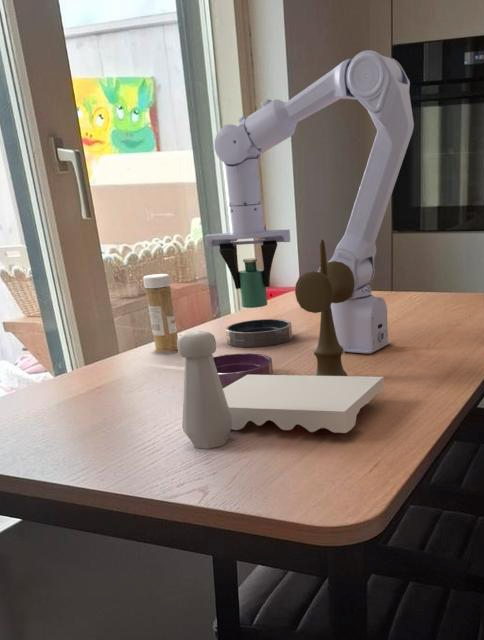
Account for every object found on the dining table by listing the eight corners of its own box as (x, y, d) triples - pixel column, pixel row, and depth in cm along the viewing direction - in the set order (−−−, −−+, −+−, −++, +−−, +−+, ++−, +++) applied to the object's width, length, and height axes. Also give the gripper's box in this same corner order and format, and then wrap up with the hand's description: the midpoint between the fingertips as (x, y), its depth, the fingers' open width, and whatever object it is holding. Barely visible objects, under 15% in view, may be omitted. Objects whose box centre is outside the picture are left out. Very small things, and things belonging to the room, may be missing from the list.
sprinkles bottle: (184, 350, 127) (173, 274, 122) (160, 355, 125) (148, 277, 120) (174, 346, 131) (163, 272, 125) (151, 351, 129) (139, 275, 123)
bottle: (272, 303, 126) (268, 257, 123) (257, 308, 123) (252, 260, 120) (251, 302, 129) (247, 257, 125) (236, 307, 125) (231, 260, 122)
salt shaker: (188, 436, 85) (172, 329, 80) (235, 432, 86) (222, 325, 80) (183, 453, 80) (165, 340, 75) (233, 449, 80) (219, 336, 75)
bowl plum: (288, 375, 108) (287, 356, 107) (242, 397, 99) (240, 377, 97) (226, 369, 114) (224, 350, 112) (177, 389, 104) (174, 370, 103)
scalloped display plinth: (196, 431, 87) (346, 439, 80) (192, 406, 86) (344, 411, 79) (250, 397, 100) (384, 401, 93) (247, 374, 99) (383, 376, 92)
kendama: (359, 373, 106) (353, 235, 98) (338, 392, 98) (330, 242, 90) (322, 372, 108) (314, 236, 100) (299, 390, 100) (288, 243, 92)
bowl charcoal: (304, 336, 132) (303, 320, 131) (268, 351, 123) (266, 334, 122) (252, 333, 138) (251, 317, 137) (214, 347, 129) (212, 330, 127)
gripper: (288, 201, 122) (294, 281, 128) (206, 206, 123) (215, 286, 128) (286, 203, 116) (292, 287, 121) (199, 208, 116) (209, 292, 122)
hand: (253, 287), depth 124 cm, fingers closed on bottle, 4 cm apart
